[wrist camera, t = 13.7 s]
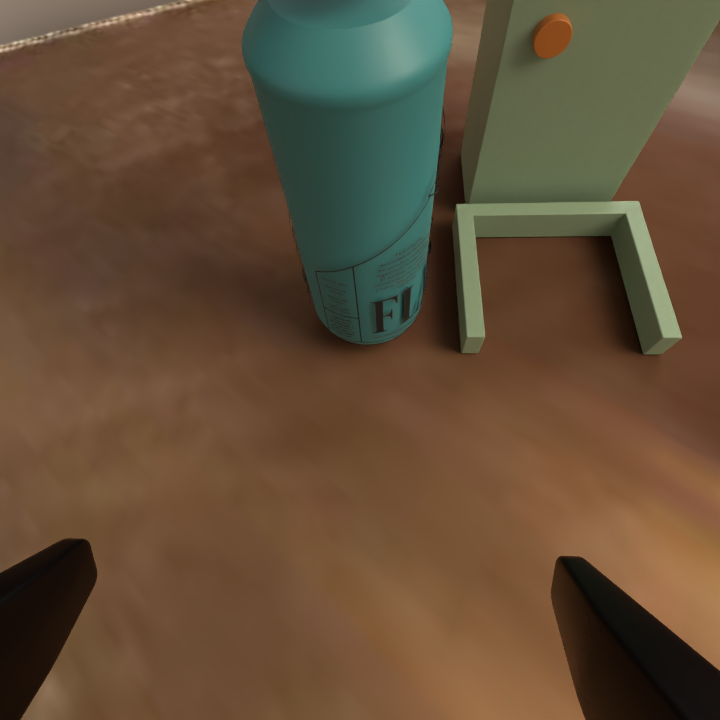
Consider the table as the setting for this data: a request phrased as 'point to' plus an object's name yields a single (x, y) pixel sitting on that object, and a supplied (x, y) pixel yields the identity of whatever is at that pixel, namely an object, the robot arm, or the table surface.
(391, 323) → the beverage bottle
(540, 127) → the drink station
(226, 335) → the table surface
